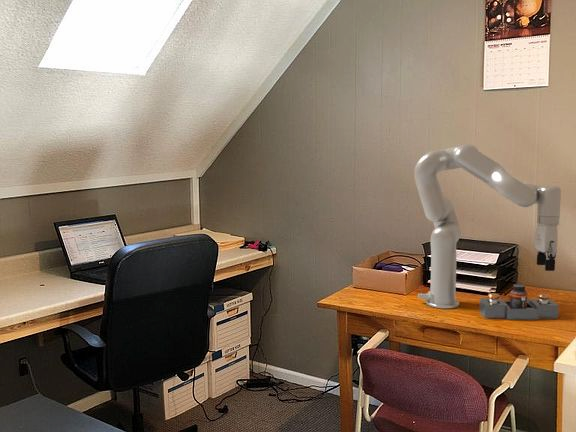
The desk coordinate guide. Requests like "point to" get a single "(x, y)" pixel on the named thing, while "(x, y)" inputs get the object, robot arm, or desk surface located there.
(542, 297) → the plunger right
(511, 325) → the desk surface
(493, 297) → the plunger left
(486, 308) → the housing
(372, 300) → the desk surface
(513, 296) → the supplement bottle
